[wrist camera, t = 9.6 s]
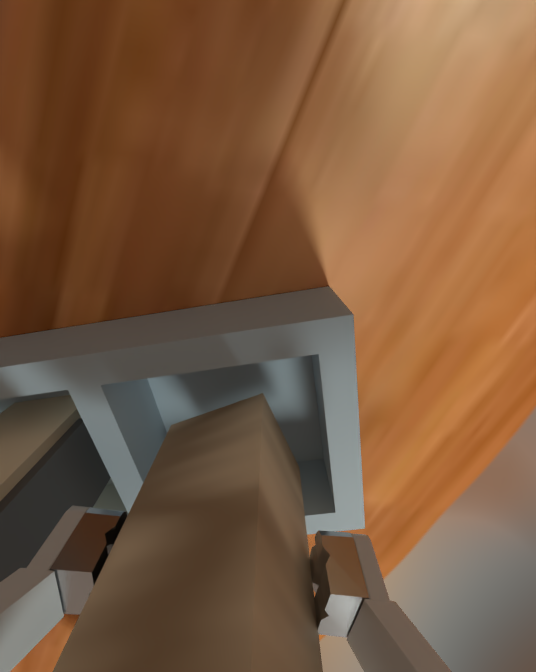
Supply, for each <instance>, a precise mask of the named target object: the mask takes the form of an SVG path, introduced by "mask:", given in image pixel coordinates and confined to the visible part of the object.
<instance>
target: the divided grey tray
mask: <svg viewBox="0 0 536 672" xmlns="http://www.w3.org/2000/svg"><path fill="white" fill-rule="evenodd" d="M261 393H263V394H264V396H265V398H266V400H267V402H268V404H269V406H270V408H271V410H272V412H273V414H274V416H275V419H276V421H277V423H278V425H279V427H280V429H281V431H282V433H283V435H284V437H285V439H286V441H287V443H288V445H289V447H290V449H291V451H292V453H293V455H294V457H295V459H296V461H297V463H298V466H299V469H300V478H301V487H302V496H303V504H304V513H305V522H306V530H307V534H316V533H317V531H318V530H320V531H332V532H335V531H345V530H354V529H364V528H365V520H364V502H363V483H362V465H361V446H360V428H359V410H358V391H357V373H356V355H355V336H354V318H353V313H352V312H351V311H350V310H349V309H348V308H347V306H346V305H345V304H344V303H343V302H342V301H341V299H340V298H339V297H338V296H337V295H336V294H335V292H334V291H333V290H332V289H331V288H330V287H329V286H327V287H321V288H314V289H308V290H302V291H295V292H289V293H283V294H276V295H270V296H263V297H257V298H251V299H244V300H238V301H232V302H225V303H219V304H213V305H206V306H200V307H193V308H187V309H181V310H174V311H168V312H162V313H155V314H149V315H142V316H136V317H130V318H123V319H117V320H111V321H104V322H98V323H91V324H85V325H79V326H72V327H66V328H60V329H53V330H47V331H41V332H34V333H28V334H21V335H15V336H9V337H2V338H0V582H1V581H3V580H4V579H5V578H7V577H8V576H10V575H11V574H12V573H14V572H15V571H17V570H18V569H19V568H27V566H28V565H29V564H30V562H31V561H32V559H33V558H34V556H35V555H36V554H37V552H38V551H39V549H40V548H41V546H42V545H43V544H44V542H45V541H46V539H47V538H48V536H49V535H50V534H51V532H52V531H53V529H54V528H55V526H56V525H57V523H58V522H59V521H60V519H61V518H62V516H63V515H64V513H65V512H66V511H67V510H68V509H69V508H70V507H71V506H83V507H92V508H100V509H108V510H117V511H126V512H127V516H128V514H129V512H130V510H131V507H132V505H133V503H134V501H135V499H136V497H137V495H138V493H139V491H140V489H141V487H142V485H143V482H144V480H145V478H146V476H147V474H148V472H149V470H150V468H151V466H152V464H153V462H154V460H155V457H156V455H157V453H158V451H159V449H160V447H161V445H162V443H163V441H164V439H165V437H166V435H167V432H168V430H169V428H170V426H171V425H173V424H175V423H178V422H181V421H184V420H187V419H190V418H193V417H195V416H198V415H201V414H204V413H207V412H210V411H213V410H216V409H218V408H221V407H224V406H227V405H230V404H233V403H236V402H238V401H241V400H244V399H247V398H250V397H253V396H256V395H258V394H261Z"/></svg>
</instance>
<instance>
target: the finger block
mask: <svg viewBox="0 0 536 672" xmlns="http://www.w3.org/2000/svg"><path fill="white" fill-rule="evenodd" d="M53 672H323V671H322V661H321V653H320V644H319V635H318V629H317V620H316V612H315V603H314V592H313V583H312V577H311V569H310V557H309V548H308V539H307V530H306V522H305V513H304V504H303V496H302V487H301V478H300V469H299V466H298V463H297V461H296V459H295V457H294V455H293V453H292V451H291V449H290V447H289V445H288V443H287V441H286V439H285V437H284V435H283V433H282V431H281V429H280V427H279V425H278V423H277V421H276V419H275V416H274V414H273V412H272V410H271V408H270V406H269V404H268V402H267V400H266V398H265V396H264V394H263V393H261V394H258V395H256V396H253V397H250V398H247V399H244V400H241V401H238V402H236V403H233V404H230V405H227V406H224V407H221V408H218V409H216V410H213V411H210V412H207V413H204V414H201V415H198V416H195V417H193V418H190V419H187V420H184V421H181V422H178V423H175V424H173V425H171V426H170V428H169V430H168V432H167V435H166V437H165V439H164V441H163V443H162V445H161V447H160V449H159V451H158V453H157V455H156V457H155V460H154V462H153V464H152V466H151V468H150V470H149V472H148V474H147V476H146V478H145V480H144V482H143V485H142V487H141V489H140V491H139V493H138V495H137V497H136V499H135V501H134V503H133V505H132V507H131V510H130V512H129V514H128V516H127V518H126V520H125V522H124V524H123V526H122V528H121V530H120V532H119V535H118V537H117V539H116V541H115V543H114V545H113V547H112V549H111V551H110V553H109V555H108V557H107V560H106V562H105V564H104V566H103V568H102V570H101V572H100V574H99V576H98V578H97V580H96V582H95V585H94V587H93V589H92V591H91V593H90V595H89V597H88V599H87V601H86V603H85V605H84V607H83V610H82V612H81V614H80V616H79V618H78V620H77V622H76V624H75V626H74V628H73V630H72V632H71V635H70V637H69V639H68V641H67V643H66V645H65V647H64V649H63V651H62V653H61V655H60V657H59V660H58V662H57V664H56V666H55V668H54V670H53Z"/></svg>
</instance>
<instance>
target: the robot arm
mask: <svg viewBox="0 0 536 672" xmlns="http://www.w3.org/2000/svg"><path fill="white" fill-rule="evenodd" d="M126 518H127V512H126V511H117V510H108V509H100V508H92V507H83V506H71V507H70V508H69V509H68V510H67V511H66V512H65V513H64V515H63V516H62V518H61V519H60V521H59V522H58V523H57V525H56V526H55V528H54V529H53V531H52V532H51V534H50V535H49V536H48V538H47V539H46V541H45V542H44V544H43V545H42V546H41V548H40V549H39V551H38V552H37V554H36V555H35V556H34V558H33V559H32V561H31V562H30V564H29V565H28V566H27V568H19V569H18V570H17V571H15V572H14V573H12V574H11V575H10V576H8V577H7V578H5V579H4V580H3V581H1V582H0V672H10V671H11V670H12V669H13V668H14V667H15V666H16V665H17V664H18V663H19V662H20V661H21V660H22V659H23V658H24V657H25V656H26V655H27V654H28V653H29V652H30V651H31V650H32V649H33V647H34V646H35V645H36V644H37V643H38V642H39V641H40V640H41V639H42V638H43V637H44V636H45V635H46V634H47V633H48V632H49V631H50V630H51V629H52V628H53V627H54V626H55V625H56V624H57V623H58V622H59V621H60V620H61V619H62V618H63V617H64V614H78V615H80V614H81V612H82V610H83V607H84V605H85V603H86V601H87V599H88V597H89V595H90V593H91V591H92V589H93V587H94V585H95V582H96V580H97V578H98V576H99V574H100V572H101V570H102V568H103V566H104V564H105V562H106V560H107V557H108V555H109V553H110V551H111V549H112V547H113V545H114V543H115V541H116V539H117V537H118V535H119V532H120V530H121V528H122V526H123V524H124V522H125V520H126ZM315 543H316V545H315V546H314V547H312V549H311V553H310V569H311V577H312V583H313V589H314V591H315V592H316V595H315V598H314V603H315V612H316V620H317V629H318V634H321V635H329V636H338V637H346V638H347V641H348V643H349V645H350V647H351V649H352V650H353V652H354V654H355V656H356V658H357V659H358V661H359V663H360V665H361V667H362V669H363V670H364V672H452V671H451V670H450V669H449V668H448V667H447V665H446V664H445V663H444V662H443V660H442V659H441V658H440V657H439V655H438V654H437V653H436V652H435V650H434V649H433V648H432V647H431V646H430V644H429V643H428V642H427V640H426V639H425V638H424V637H423V636H422V634H421V633H420V632H419V631H418V630H417V628H416V627H415V626H414V624H413V623H412V622H411V621H410V620H409V618H408V617H407V616H406V614H405V613H404V612H403V611H402V609H401V608H400V607H399V606H398V605H397V603H396V602H394V601H390V600H389V597H388V593H387V590H386V587H385V584H384V581H383V578H382V574H381V571H380V568H379V565H378V562H377V559H376V556H375V552H374V549H373V546H372V543H371V540H370V538H369V537H368V536H367V535H362V534H350V533H345V532H332V531H320V530H318V531H317V533H316V536H315Z"/></svg>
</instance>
